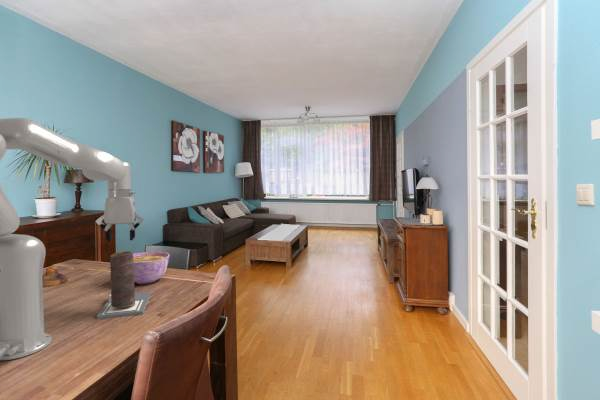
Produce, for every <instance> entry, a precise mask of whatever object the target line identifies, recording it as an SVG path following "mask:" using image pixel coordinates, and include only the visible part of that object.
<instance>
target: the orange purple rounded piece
mask: <svg viewBox="0 0 600 400" xmlns="http://www.w3.org/2000/svg"><path fill="white" fill-rule="evenodd" d="M68 281H69V278H68V277H67V276H66V275H65V274H64V273H59V269H58V267H57V266H49V267H48V266H47V267H46V269H45V273H44V274H42V287H43V288H47V287H48V288H50V287H55V286H56V287H57V286H60V285H62V284H65V283H67V282H68Z"/></svg>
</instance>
